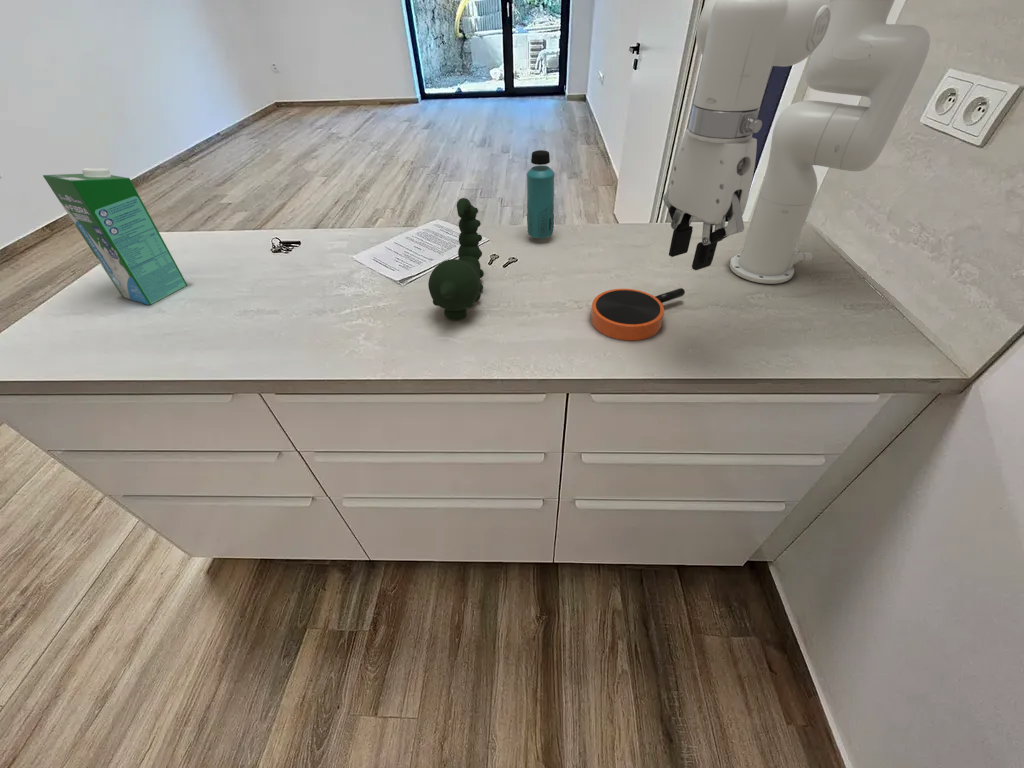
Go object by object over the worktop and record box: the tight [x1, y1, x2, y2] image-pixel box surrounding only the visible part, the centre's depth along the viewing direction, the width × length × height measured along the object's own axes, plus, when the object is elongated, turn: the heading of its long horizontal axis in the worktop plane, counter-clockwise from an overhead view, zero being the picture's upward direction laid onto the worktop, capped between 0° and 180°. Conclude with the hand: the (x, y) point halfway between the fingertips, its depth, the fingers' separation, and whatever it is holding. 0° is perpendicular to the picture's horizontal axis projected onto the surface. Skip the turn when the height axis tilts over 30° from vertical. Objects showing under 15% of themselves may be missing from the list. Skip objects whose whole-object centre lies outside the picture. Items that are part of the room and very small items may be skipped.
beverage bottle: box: [526, 149, 555, 239], centre depth 110 cm, size 6×7×20 cm
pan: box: [590, 287, 686, 342], centre depth 89 cm, size 20×13×3 cm, turn 117°
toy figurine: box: [427, 197, 485, 321], centre depth 90 cm, size 9×19×25 cm
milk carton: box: [42, 167, 188, 306], centre depth 94 cm, size 9×9×25 cm
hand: (689, 259), depth 70 cm, fingers open, 4 cm apart
